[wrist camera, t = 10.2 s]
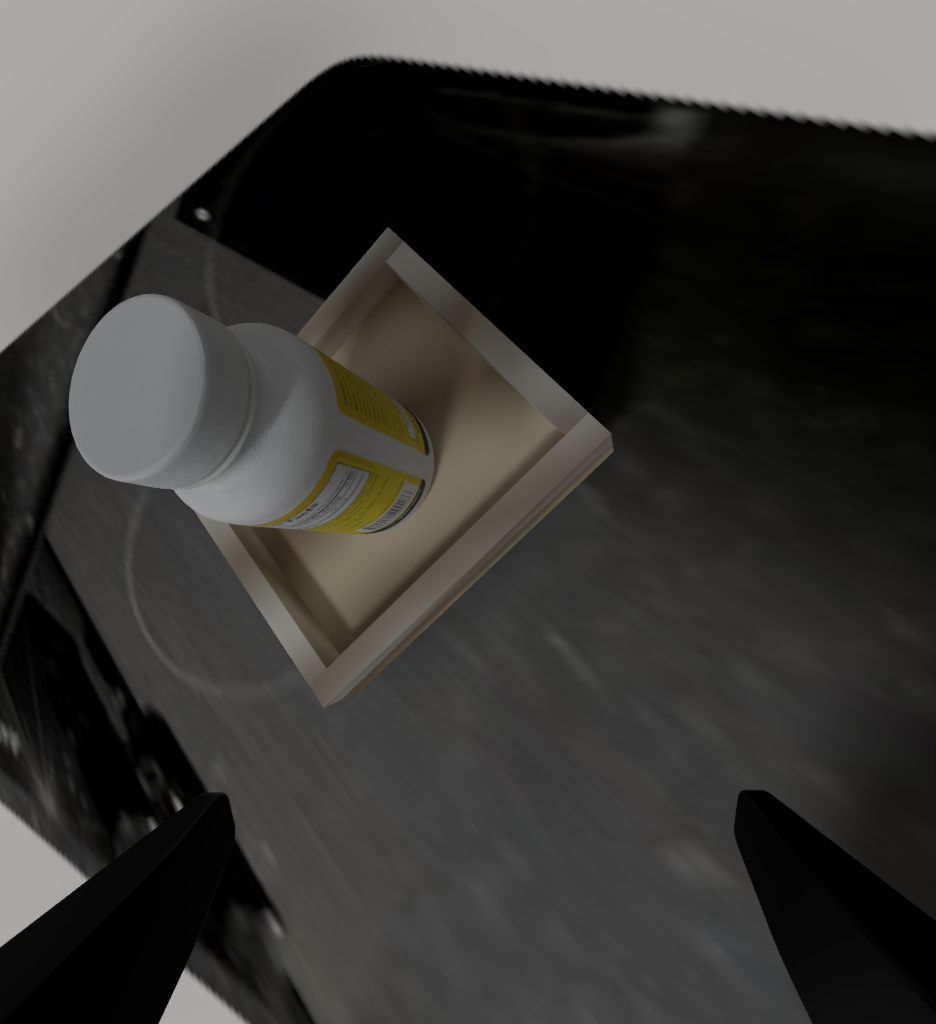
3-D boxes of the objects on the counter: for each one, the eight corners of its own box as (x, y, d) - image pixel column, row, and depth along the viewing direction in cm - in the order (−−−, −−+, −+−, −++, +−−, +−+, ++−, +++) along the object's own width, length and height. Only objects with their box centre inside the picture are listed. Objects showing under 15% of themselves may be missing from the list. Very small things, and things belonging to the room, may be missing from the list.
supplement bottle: (330, 398, 20) (72, 260, 11) (448, 406, 18) (260, 249, 9) (308, 525, 20) (24, 497, 10) (425, 546, 18) (207, 534, 9)
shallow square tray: (614, 462, 19) (611, 433, 15) (385, 676, 22) (323, 707, 17) (434, 291, 23) (388, 227, 18) (254, 493, 25) (174, 479, 21)
